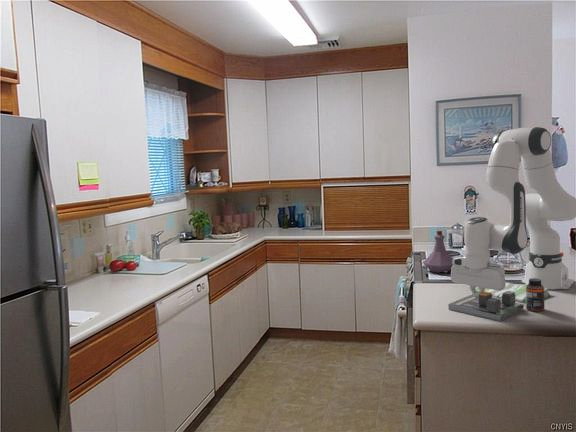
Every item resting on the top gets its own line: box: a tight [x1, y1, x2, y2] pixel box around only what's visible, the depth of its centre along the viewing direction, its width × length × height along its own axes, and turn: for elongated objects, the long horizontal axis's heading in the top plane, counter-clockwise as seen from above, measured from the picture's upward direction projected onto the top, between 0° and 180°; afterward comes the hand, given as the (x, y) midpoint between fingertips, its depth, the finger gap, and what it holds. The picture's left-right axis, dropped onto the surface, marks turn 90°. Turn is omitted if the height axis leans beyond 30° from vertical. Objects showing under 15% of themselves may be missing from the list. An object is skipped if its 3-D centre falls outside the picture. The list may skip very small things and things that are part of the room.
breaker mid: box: [479, 291, 493, 305], centre depth 178 cm, size 4×3×4 cm
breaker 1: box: [487, 297, 501, 313], centre depth 170 cm, size 4×3×4 cm
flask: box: [422, 230, 454, 273], centre depth 238 cm, size 16×16×20 cm
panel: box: [447, 293, 525, 322], centre depth 178 cm, size 17×20×2 cm
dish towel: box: [475, 281, 550, 304], centre depth 196 cm, size 17×23×4 cm
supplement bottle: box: [525, 278, 545, 313], centre depth 174 cm, size 6×6×11 cm
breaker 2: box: [501, 291, 516, 305], centre depth 177 cm, size 4×3×4 cm
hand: (477, 297), depth 180 cm, fingers closed
